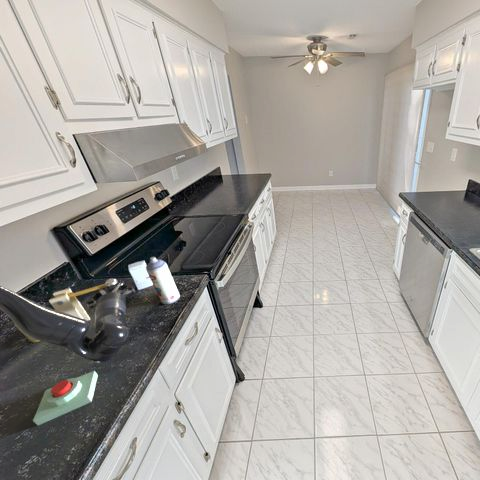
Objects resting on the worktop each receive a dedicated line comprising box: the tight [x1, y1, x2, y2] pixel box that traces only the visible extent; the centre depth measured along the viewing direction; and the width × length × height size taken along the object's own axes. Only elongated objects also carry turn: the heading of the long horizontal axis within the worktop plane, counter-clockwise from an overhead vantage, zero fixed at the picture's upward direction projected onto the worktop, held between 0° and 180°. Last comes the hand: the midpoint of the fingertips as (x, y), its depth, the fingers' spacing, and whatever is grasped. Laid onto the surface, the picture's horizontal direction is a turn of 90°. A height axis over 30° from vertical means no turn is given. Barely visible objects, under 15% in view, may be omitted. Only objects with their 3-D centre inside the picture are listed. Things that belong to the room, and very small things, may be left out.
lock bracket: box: [48, 287, 91, 321], centre depth 89 cm, size 9×8×16 cm
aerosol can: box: [146, 256, 181, 306], centre depth 99 cm, size 7×7×20 cm
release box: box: [32, 370, 99, 426], centre depth 68 cm, size 11×9×4 cm
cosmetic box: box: [128, 260, 154, 291], centre depth 110 cm, size 6×4×12 cm
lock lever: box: [54, 278, 118, 299], centre depth 89 cm, size 17×4×4 cm, turn 120°
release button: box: [51, 379, 72, 397], centre depth 67 cm, size 4×4×2 cm
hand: (112, 283), depth 95 cm, fingers closed on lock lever, 4 cm apart
